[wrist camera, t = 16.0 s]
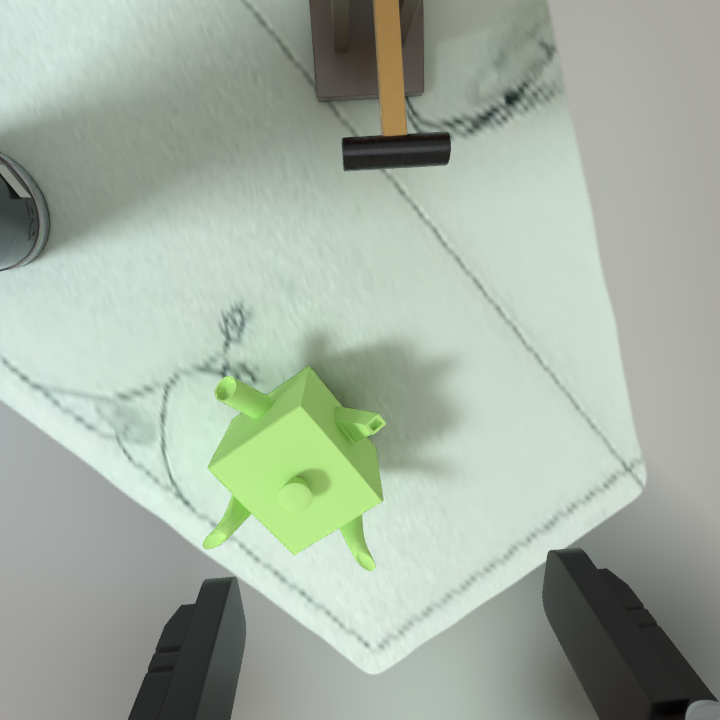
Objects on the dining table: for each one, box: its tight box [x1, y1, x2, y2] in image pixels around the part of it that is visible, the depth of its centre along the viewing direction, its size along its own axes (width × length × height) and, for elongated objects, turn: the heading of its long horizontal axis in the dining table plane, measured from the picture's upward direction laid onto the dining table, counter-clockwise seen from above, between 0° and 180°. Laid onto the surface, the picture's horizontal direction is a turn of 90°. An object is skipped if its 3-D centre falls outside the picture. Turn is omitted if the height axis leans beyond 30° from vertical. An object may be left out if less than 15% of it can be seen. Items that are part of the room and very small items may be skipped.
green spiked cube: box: [203, 366, 386, 571], centre depth 37 cm, size 15×14×11 cm
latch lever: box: [342, 0, 451, 171], centre depth 20 cm, size 13×5×2 cm, turn 4°
